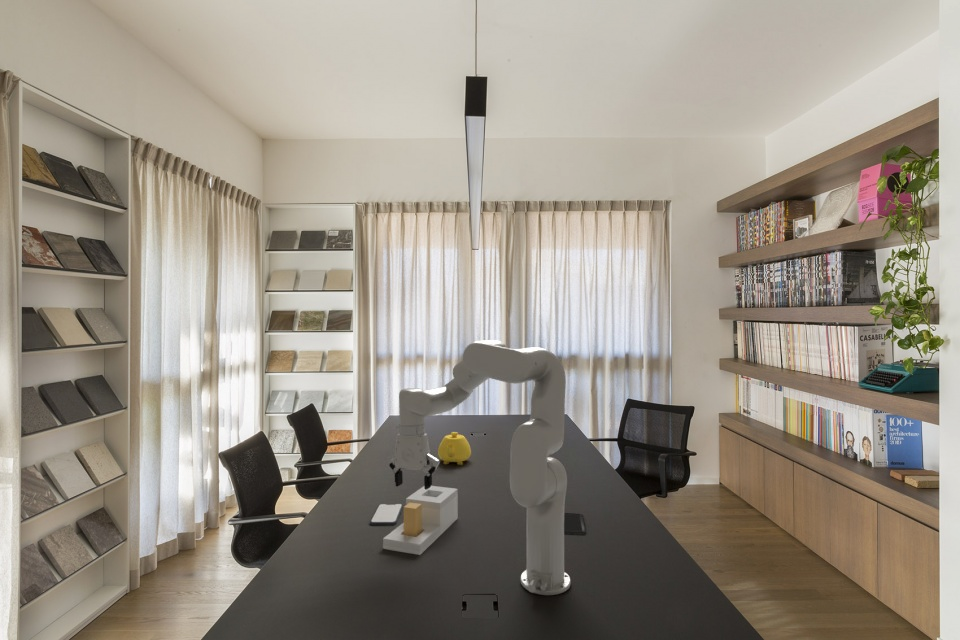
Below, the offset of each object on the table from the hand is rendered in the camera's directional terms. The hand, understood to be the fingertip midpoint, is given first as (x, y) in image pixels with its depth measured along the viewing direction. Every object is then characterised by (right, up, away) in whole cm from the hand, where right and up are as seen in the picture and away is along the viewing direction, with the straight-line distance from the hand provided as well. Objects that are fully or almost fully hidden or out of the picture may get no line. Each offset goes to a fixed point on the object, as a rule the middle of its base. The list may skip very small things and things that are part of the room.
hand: (413, 486), depth 154 cm
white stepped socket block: (+2, -17, +7) cm, 18 cm away
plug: (0, -16, 0) cm, 16 cm away
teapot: (+8, -17, +84) cm, 86 cm away
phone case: (-12, -17, +21) cm, 30 cm away
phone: (+50, -17, +13) cm, 54 cm away
